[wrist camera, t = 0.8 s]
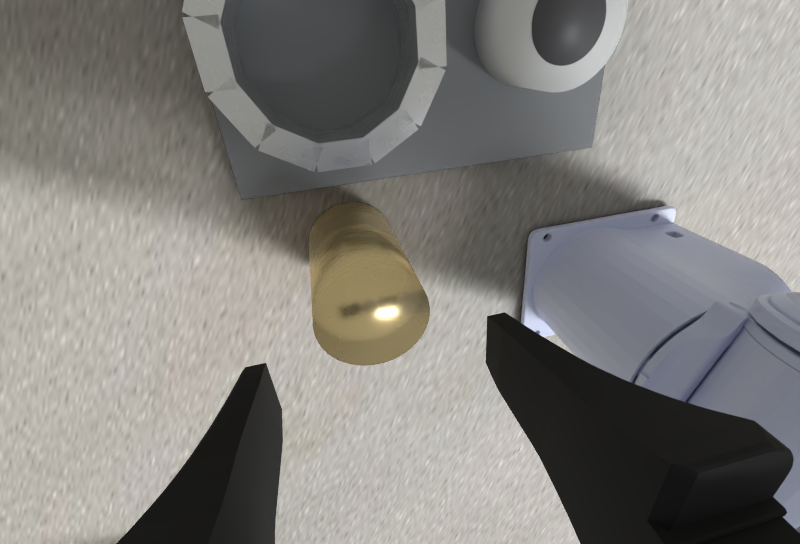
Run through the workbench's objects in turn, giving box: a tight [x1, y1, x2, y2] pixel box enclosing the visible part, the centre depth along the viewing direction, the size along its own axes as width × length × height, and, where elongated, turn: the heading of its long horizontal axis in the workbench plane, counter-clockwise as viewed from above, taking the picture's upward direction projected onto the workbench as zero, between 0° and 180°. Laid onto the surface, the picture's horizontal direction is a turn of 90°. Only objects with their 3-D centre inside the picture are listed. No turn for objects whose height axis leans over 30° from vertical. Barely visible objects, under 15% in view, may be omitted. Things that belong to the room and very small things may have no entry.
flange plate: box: [181, 0, 628, 200], centre depth 15 cm, size 17×11×4 cm, turn 95°
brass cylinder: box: [309, 202, 430, 365], centre depth 18 cm, size 4×4×7 cm
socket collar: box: [182, 0, 447, 172], centre depth 14 cm, size 8×8×3 cm
